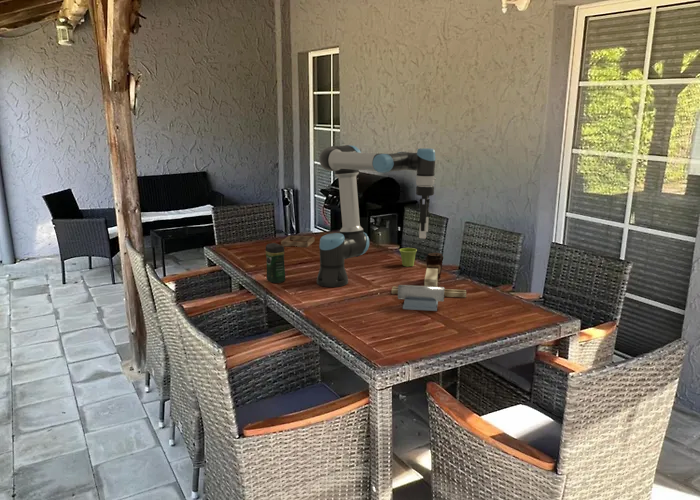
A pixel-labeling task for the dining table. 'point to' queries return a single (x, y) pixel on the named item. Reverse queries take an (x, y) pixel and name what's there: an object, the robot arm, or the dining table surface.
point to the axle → (420, 292)
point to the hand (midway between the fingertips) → (423, 234)
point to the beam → (432, 281)
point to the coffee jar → (275, 263)
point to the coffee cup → (435, 262)
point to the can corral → (298, 238)
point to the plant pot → (408, 256)
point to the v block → (420, 304)
